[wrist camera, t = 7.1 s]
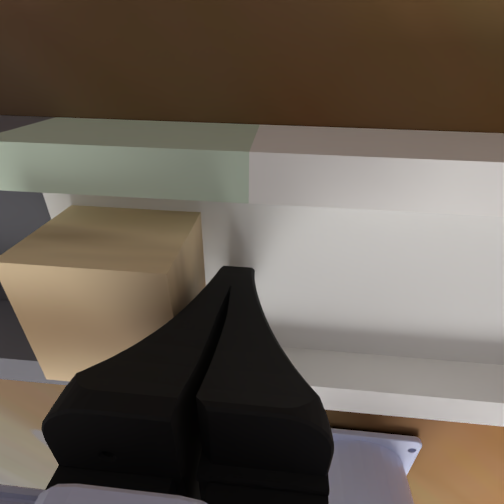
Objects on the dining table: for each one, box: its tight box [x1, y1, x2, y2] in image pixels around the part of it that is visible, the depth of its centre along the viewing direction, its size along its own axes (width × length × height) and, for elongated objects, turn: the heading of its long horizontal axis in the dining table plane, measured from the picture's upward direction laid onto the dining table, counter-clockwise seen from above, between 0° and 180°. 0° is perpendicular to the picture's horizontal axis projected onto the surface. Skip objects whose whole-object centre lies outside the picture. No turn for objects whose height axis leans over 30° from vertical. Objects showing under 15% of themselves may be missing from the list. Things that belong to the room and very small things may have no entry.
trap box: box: [0, 115, 504, 426], centre depth 13 cm, size 11×34×4 cm, turn 89°
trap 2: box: [0, 190, 51, 300], centre depth 16 cm, size 8×7×1 cm
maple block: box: [0, 205, 206, 381], centre depth 12 cm, size 5×5×4 cm
